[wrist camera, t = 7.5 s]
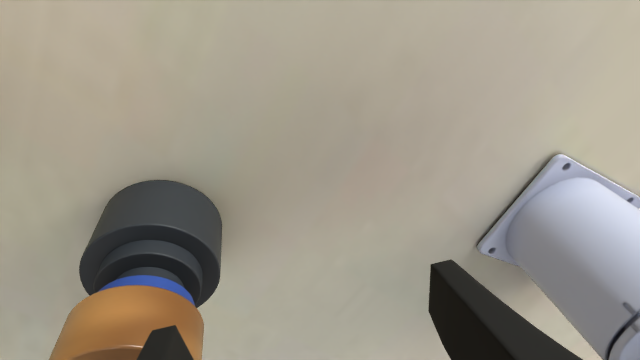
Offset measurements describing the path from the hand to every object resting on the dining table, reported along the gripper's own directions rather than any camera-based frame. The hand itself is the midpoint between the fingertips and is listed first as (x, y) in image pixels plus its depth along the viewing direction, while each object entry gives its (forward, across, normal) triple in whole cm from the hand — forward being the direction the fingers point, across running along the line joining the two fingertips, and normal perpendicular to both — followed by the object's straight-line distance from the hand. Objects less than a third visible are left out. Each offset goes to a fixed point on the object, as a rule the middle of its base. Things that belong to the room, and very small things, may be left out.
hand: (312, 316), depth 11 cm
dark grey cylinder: (+10, +7, +3) cm, 13 cm away
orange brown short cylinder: (+4, +7, +3) cm, 8 cm away
